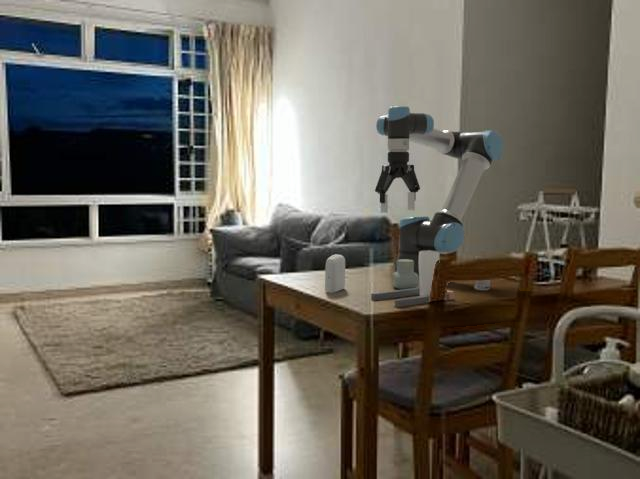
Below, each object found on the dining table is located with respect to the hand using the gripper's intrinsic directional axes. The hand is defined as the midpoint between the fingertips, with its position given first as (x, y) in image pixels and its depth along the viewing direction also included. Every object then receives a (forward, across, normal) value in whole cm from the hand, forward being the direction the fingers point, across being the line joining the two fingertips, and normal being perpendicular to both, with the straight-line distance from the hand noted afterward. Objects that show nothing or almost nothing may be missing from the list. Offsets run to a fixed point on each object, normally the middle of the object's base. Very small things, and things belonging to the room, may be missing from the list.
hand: (397, 211), depth 232 cm
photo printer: (+26, -25, +5) cm, 37 cm away
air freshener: (+27, -2, -5) cm, 28 cm away
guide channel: (+26, -14, -21) cm, 36 cm away
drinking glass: (+27, -7, -20) cm, 34 cm away
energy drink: (+28, +20, -22) cm, 41 cm away
